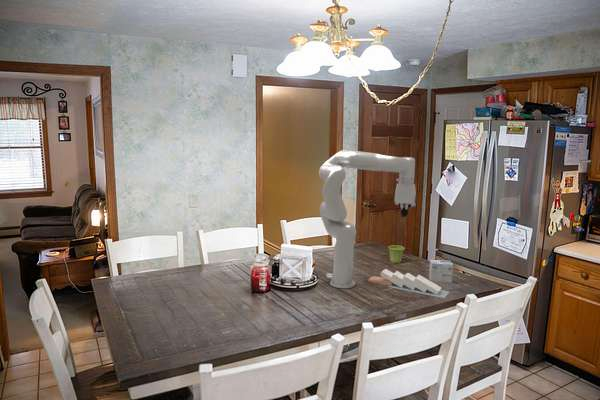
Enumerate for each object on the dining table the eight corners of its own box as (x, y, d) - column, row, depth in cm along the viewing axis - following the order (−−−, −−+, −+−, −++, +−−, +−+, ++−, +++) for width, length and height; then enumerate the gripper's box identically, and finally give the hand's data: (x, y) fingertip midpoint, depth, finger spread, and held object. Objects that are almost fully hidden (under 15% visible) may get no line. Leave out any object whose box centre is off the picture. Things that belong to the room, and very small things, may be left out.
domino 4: (424, 292, 211) (402, 279, 216) (428, 288, 217) (406, 276, 222) (426, 289, 211) (403, 275, 216) (430, 285, 216) (407, 272, 221)
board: (387, 288, 219) (387, 286, 219) (394, 282, 227) (394, 281, 227) (444, 300, 205) (444, 298, 205) (449, 293, 214) (449, 291, 214)
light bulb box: (449, 280, 233) (450, 260, 232) (452, 284, 227) (453, 264, 225) (428, 279, 234) (429, 259, 233) (430, 283, 228) (432, 262, 226)
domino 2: (401, 287, 217) (380, 275, 222) (405, 284, 222) (384, 271, 227) (403, 284, 216) (381, 271, 221) (407, 281, 222) (385, 268, 226)
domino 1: (391, 285, 220) (368, 283, 226) (395, 282, 225) (372, 280, 231) (391, 281, 219) (368, 279, 225) (395, 278, 224) (372, 276, 231)
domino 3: (413, 290, 214) (391, 277, 219) (417, 286, 219) (395, 274, 224) (415, 286, 214) (392, 273, 218) (418, 283, 219) (396, 270, 224)
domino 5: (436, 295, 209) (413, 281, 214) (439, 291, 214) (417, 278, 219) (438, 291, 208) (415, 277, 213) (441, 287, 213) (419, 274, 218)
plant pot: (406, 261, 266) (406, 246, 265) (400, 264, 258) (401, 250, 257) (390, 258, 271) (391, 244, 270) (385, 262, 263) (385, 247, 262)
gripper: (389, 180, 232) (388, 215, 234) (418, 183, 224) (416, 219, 227) (394, 179, 238) (392, 213, 241) (422, 181, 230) (420, 217, 233)
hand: (404, 216), depth 234 cm, fingers closed
